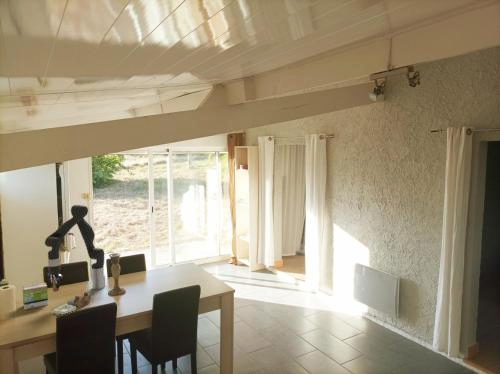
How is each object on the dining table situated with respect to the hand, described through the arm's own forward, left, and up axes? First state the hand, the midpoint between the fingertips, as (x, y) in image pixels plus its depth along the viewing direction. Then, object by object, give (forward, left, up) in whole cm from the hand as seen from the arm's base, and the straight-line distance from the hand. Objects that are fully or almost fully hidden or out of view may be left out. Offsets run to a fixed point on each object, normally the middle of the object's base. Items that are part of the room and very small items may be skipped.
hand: (55, 287), depth 261 cm
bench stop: (-10, +14, -15) cm, 23 cm away
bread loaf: (0, 0, -2) cm, 2 cm away
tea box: (+3, -18, -15) cm, 24 cm away
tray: (+3, +12, -15) cm, 19 cm away
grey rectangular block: (-10, +9, -15) cm, 20 cm away
